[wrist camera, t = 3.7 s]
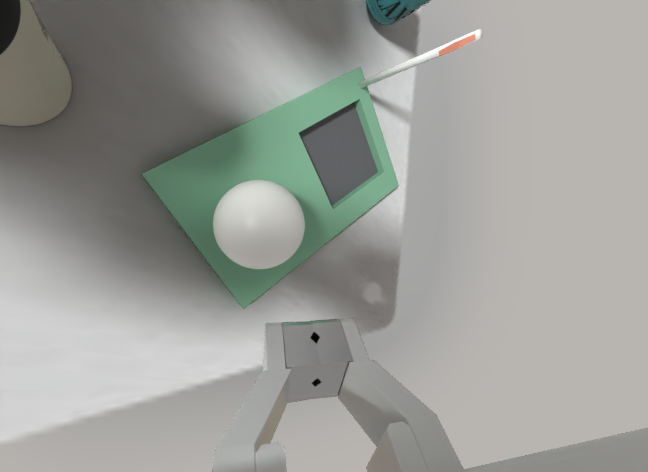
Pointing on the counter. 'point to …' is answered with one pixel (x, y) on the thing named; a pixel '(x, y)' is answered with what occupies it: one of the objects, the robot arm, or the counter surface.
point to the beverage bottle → (392, 9)
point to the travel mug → (29, 68)
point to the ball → (258, 224)
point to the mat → (290, 169)
